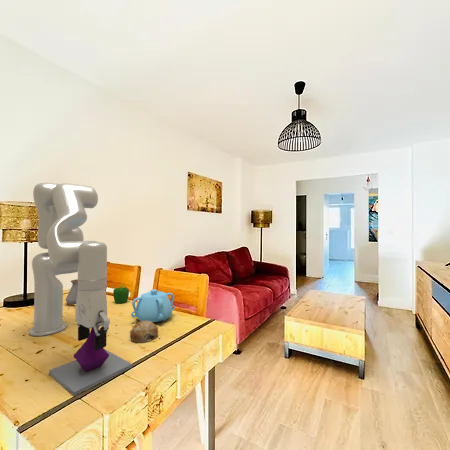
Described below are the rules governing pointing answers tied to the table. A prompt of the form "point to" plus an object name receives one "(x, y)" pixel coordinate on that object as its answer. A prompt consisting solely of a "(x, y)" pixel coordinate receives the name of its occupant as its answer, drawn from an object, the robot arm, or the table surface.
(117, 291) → the bell pepper
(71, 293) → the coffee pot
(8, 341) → the table surface
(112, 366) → the slate tile
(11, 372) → the table surface
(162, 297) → the decorative pot
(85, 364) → the perfume bottle
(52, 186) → the robot arm
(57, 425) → the table surface
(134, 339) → the bread roll
